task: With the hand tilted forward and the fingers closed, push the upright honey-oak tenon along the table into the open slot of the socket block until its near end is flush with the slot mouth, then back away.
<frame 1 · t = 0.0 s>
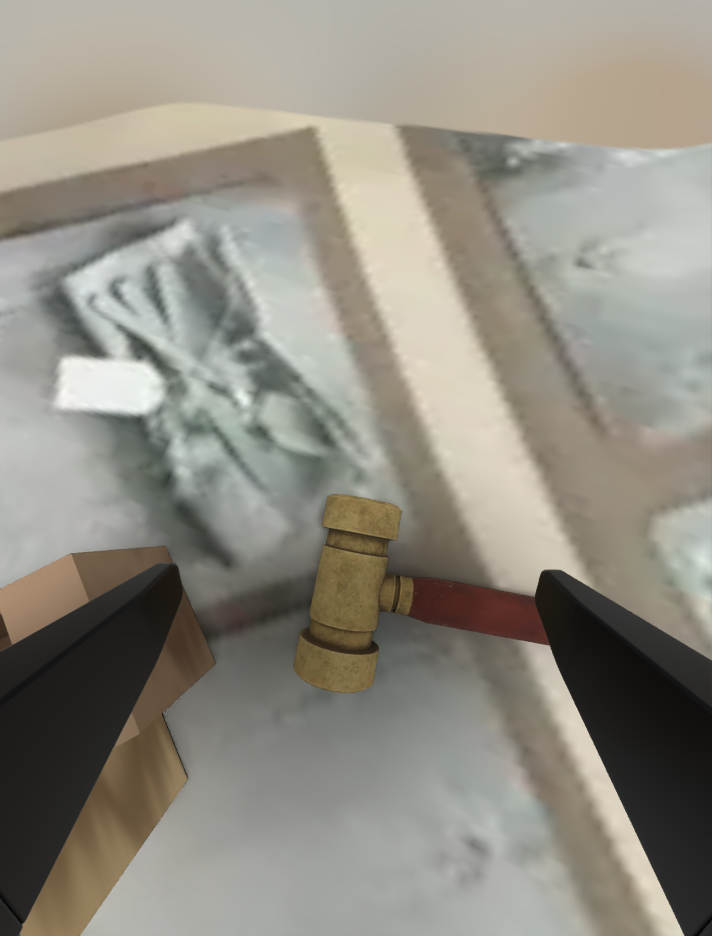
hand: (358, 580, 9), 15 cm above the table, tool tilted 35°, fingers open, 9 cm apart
socket block: (101, 650, 23), on the table
gavel: (475, 604, 24), on the table
tenon: (64, 816, 17), point 6 cm above the table, slide at 0.0 cm
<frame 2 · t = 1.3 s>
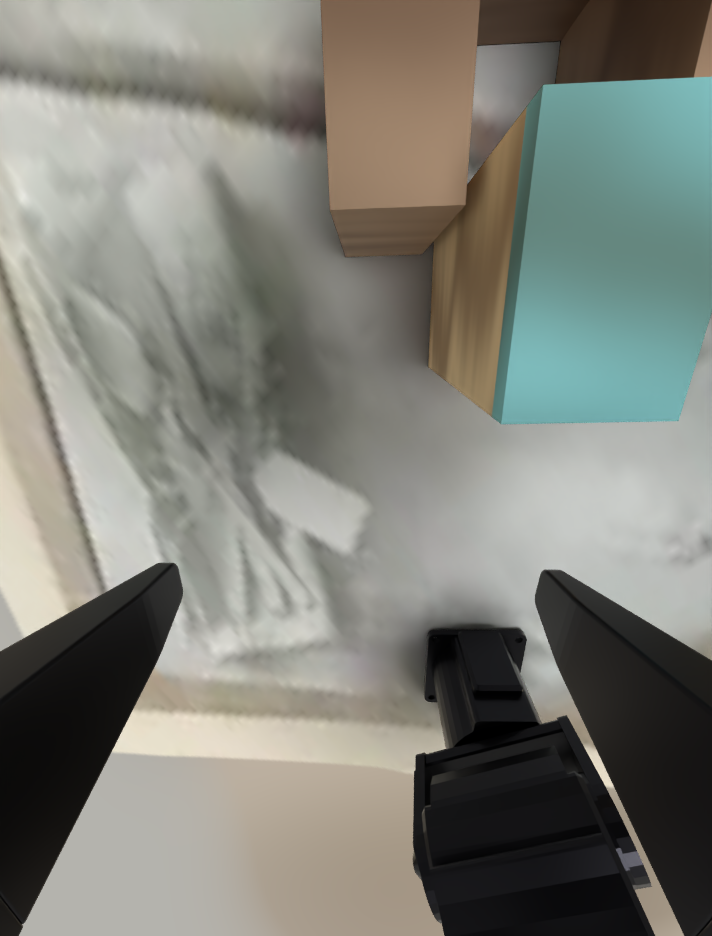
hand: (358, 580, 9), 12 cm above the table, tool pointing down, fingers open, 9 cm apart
socket block: (486, 142, 15), on the table
tenon: (517, 293, 12), point 6 cm above the table, slide at 0.0 cm
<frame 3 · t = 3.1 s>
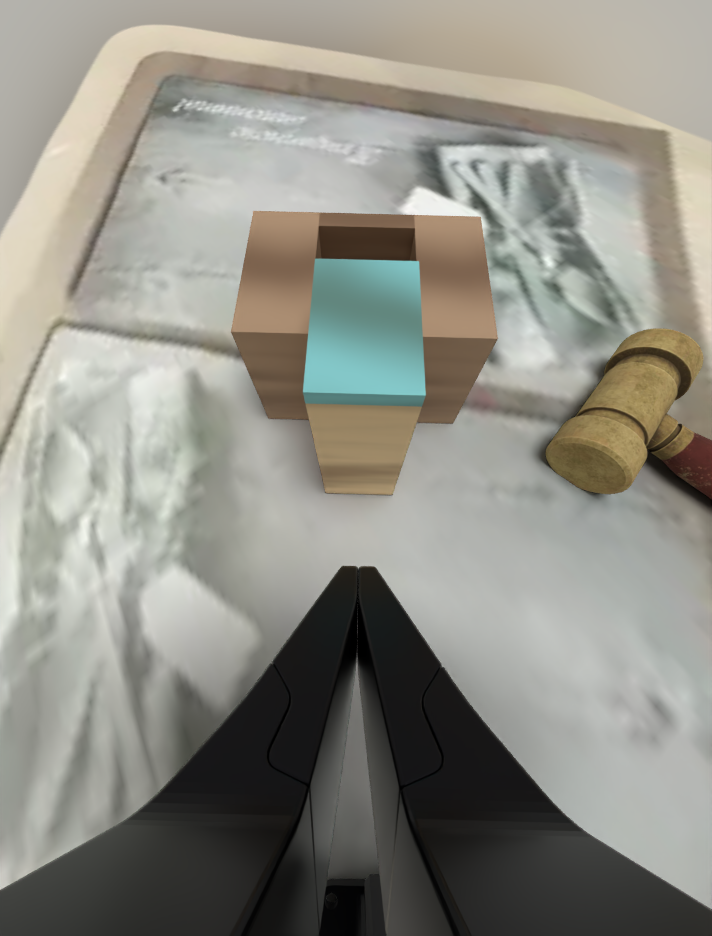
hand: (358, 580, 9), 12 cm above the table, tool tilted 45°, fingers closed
socket block: (361, 369, 26), on the table
tenon: (362, 402, 18), point 6 cm above the table, slide at 0.0 cm
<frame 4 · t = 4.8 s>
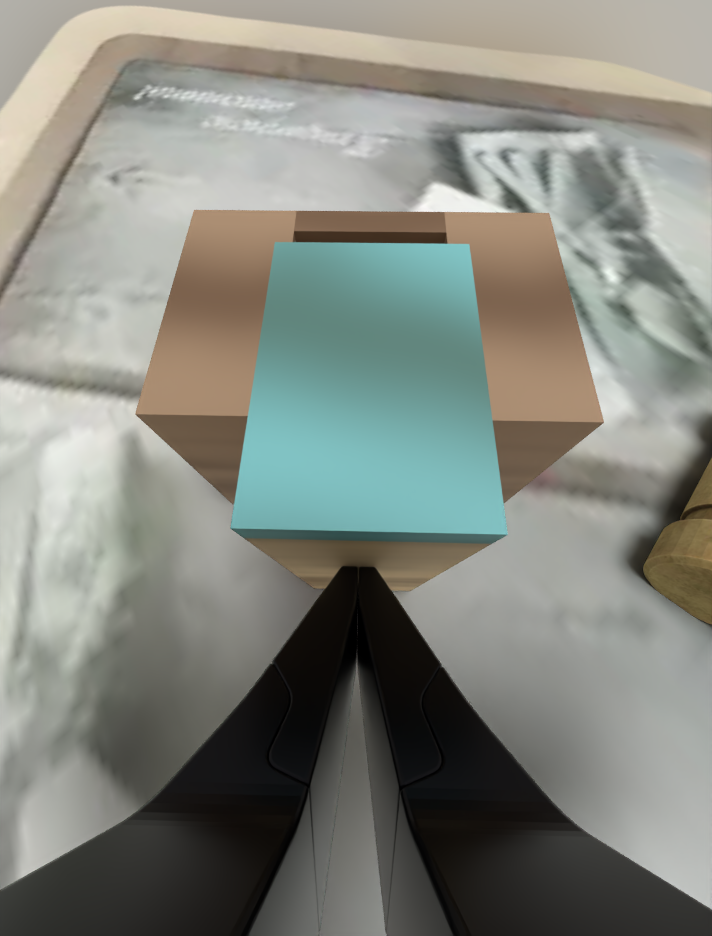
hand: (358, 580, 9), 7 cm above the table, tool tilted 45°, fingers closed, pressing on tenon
socket block: (364, 429, 18), on the table
tenon: (365, 474, 12), point 6 cm above the table, slide at 1.4 cm, touching gripper
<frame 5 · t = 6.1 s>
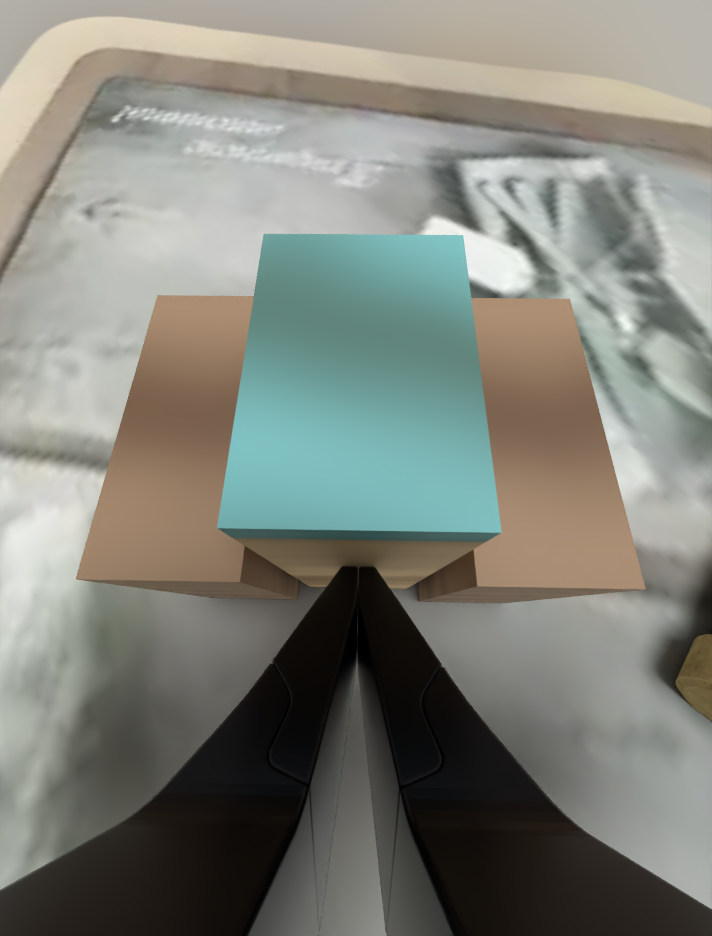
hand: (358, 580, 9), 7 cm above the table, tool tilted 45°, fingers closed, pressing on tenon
socket block: (359, 506, 17), on the table
tenon: (359, 472, 11), point 6 cm above the table, slide at 5.5 cm, touching gripper
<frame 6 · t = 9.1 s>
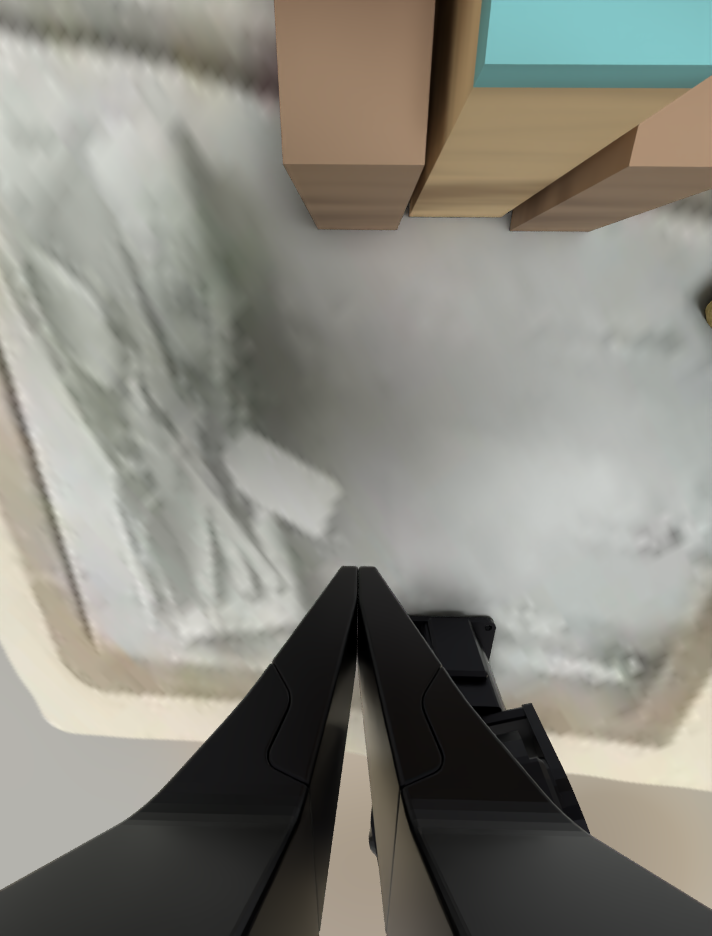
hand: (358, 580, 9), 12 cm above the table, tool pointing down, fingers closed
socket block: (464, 114, 15), on the table
tenon: (513, 38, 10), point 6 cm above the table, slide at 5.5 cm
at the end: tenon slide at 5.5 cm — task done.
